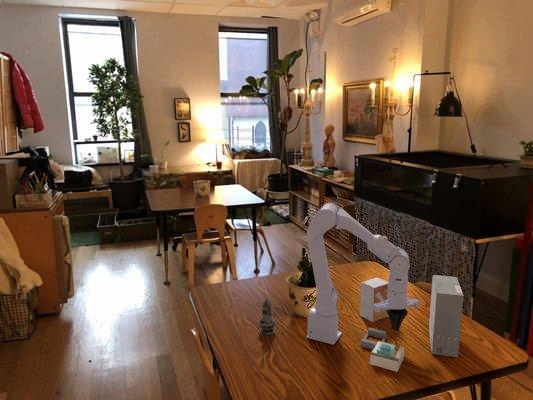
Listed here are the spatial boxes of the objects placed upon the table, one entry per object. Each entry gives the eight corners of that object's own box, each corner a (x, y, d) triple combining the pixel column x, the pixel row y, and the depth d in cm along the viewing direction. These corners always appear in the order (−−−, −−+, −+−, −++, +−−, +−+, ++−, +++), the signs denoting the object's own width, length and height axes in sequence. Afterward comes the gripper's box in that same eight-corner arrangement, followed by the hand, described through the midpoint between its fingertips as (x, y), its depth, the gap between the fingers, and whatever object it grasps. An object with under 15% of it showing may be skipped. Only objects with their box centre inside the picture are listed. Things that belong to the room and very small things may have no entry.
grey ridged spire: (278, 328, 146) (278, 296, 143) (271, 337, 140) (271, 303, 138) (263, 325, 148) (262, 293, 145) (255, 333, 143) (254, 300, 140)
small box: (373, 322, 148) (374, 288, 146) (359, 315, 154) (360, 282, 151) (388, 316, 153) (390, 282, 150) (375, 309, 158) (376, 276, 155)
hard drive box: (458, 358, 126) (464, 296, 122) (431, 355, 128) (435, 293, 124) (452, 332, 141) (457, 276, 137) (428, 329, 143) (431, 274, 139)
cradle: (379, 351, 131) (379, 345, 131) (359, 346, 134) (359, 340, 134) (386, 337, 139) (387, 331, 138) (368, 332, 142) (368, 327, 141)
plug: (389, 367, 123) (390, 351, 122) (376, 363, 125) (376, 347, 124) (394, 358, 127) (395, 342, 126) (381, 355, 129) (382, 339, 128)
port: (377, 350, 131) (378, 339, 131) (403, 357, 128) (404, 345, 127) (370, 364, 124) (370, 352, 124) (397, 371, 121) (398, 359, 120)
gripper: (411, 281, 136) (408, 320, 138) (369, 286, 132) (367, 326, 135) (424, 290, 129) (421, 331, 132) (380, 296, 126) (378, 337, 128)
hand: (395, 329), depth 133 cm, fingers closed
